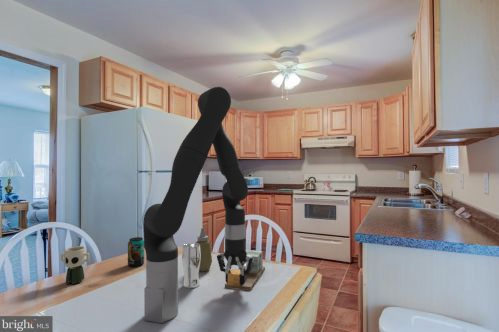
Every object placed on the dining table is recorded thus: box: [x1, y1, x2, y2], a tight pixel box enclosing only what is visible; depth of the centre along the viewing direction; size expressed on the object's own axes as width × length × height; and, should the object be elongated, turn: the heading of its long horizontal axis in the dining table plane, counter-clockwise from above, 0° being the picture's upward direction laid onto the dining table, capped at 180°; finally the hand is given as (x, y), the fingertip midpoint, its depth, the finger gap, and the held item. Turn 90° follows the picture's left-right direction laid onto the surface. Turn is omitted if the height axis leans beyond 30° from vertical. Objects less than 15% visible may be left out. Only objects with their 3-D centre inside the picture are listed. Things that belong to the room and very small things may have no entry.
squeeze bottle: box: [195, 227, 213, 272], centre depth 124 cm, size 8×8×18 cm
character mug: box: [60, 245, 90, 285], centre depth 111 cm, size 11×7×13 cm, turn 91°
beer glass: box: [181, 242, 201, 289], centre depth 108 cm, size 7×7×15 cm
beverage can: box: [127, 236, 145, 268], centre depth 130 cm, size 7×7×12 cm
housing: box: [224, 249, 266, 291], centre depth 115 cm, size 22×10×8 cm, turn 163°
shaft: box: [228, 261, 248, 286], centre depth 110 cm, size 22×4×4 cm, turn 163°
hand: (235, 283), depth 102 cm, fingers closed on shaft, 4 cm apart
